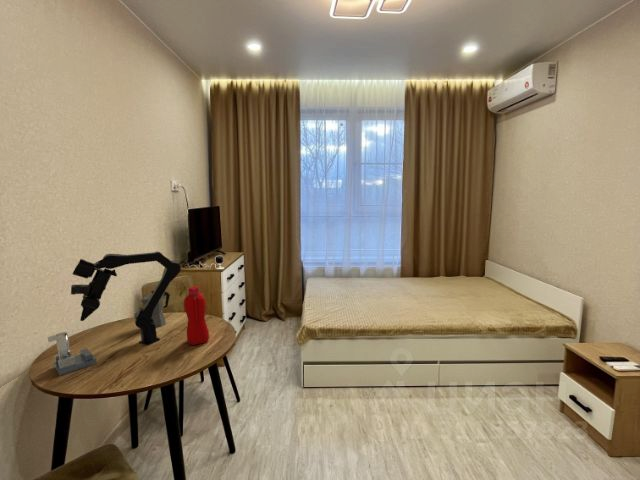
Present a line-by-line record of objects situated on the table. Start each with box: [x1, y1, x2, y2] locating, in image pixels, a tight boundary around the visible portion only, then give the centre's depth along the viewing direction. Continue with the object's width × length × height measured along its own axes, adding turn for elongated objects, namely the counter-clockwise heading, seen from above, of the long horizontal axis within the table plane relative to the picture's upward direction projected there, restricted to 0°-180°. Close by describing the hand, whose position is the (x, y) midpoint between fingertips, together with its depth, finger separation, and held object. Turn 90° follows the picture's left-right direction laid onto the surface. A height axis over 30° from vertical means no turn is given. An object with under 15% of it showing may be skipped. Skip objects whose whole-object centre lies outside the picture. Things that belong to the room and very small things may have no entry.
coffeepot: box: [140, 290, 171, 329], centre depth 178 cm, size 15×9×18 cm, turn 147°
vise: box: [53, 348, 97, 376], centre depth 137 cm, size 12×10×5 cm
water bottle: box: [183, 286, 210, 346], centre depth 154 cm, size 9×11×25 cm
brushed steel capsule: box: [47, 331, 71, 360], centre depth 133 cm, size 6×4×12 cm, turn 137°
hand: (82, 317), depth 144 cm, fingers open, 9 cm apart
